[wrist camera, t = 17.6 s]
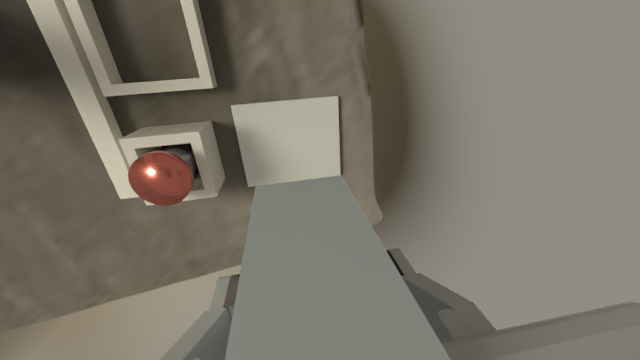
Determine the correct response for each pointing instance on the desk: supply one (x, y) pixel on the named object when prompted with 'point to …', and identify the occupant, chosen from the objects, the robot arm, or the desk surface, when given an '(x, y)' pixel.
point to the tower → (194, 133)
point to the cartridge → (322, 283)
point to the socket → (108, 72)
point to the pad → (288, 139)
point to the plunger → (164, 174)
